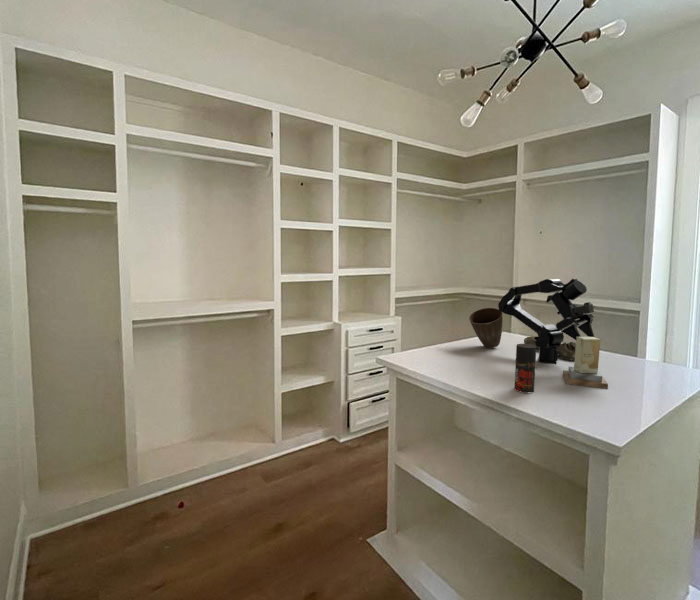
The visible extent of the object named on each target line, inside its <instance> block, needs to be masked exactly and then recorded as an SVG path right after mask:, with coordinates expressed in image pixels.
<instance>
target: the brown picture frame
mask: <svg viewBox="0 0 700 600" xmlns="http://www.w3.org/2000/svg"><path fill="white" fill-rule="evenodd" d="M562 374H563V377H564V380H565V382H566V385H572V384H573V385H574V386H575V385H576V386H582V385H584V387H590V388H591V387H593V388H602V389H608V388H609V383H608V382H607V381H606V379H605V378H604V377H603V375H602V374H601V372H600V371H599V370H598V373H580V372H578V371H576V370H574V366H568V370H562Z"/></svg>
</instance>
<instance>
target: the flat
mask: <svg viewBox="0 0 700 600" xmlns="http://www.w3.org/2000/svg"><path fill="white" fill-rule="evenodd" d="M537 339H539V337H538V335H528V336H526V337H525V338H524V340H523V344H531V345H535V346H536V343H535V341H536V340H537ZM556 348H557V351H558V357H559V356H560V357H559V358H561V357H562V358H561V359H563V358H564V359H563V360H566V359H567V361H575V350H576V341H575V342H574V341H570V342H561V344H560V346H559V347H556ZM536 349H539V347H537V346H536Z"/></svg>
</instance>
